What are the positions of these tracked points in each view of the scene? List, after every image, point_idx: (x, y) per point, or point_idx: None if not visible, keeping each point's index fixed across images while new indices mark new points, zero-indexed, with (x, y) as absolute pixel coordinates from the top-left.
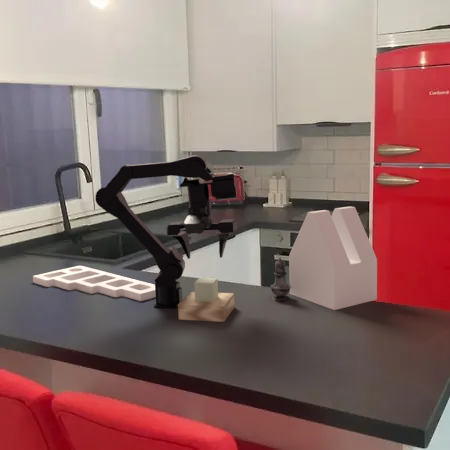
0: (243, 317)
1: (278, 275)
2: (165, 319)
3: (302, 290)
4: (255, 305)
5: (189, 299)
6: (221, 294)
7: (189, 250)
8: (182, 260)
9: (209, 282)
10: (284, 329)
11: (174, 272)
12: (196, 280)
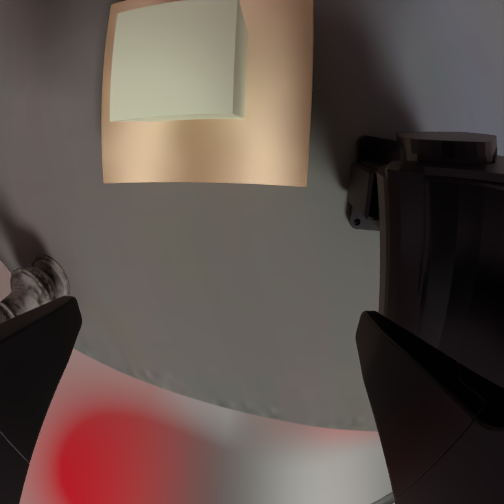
0: (86, 79)
1: (3, 303)
2: (355, 15)
3: (5, 291)
4: (80, 208)
5: (282, 53)
6: (148, 155)
7: (375, 388)
8: (410, 311)
9: (137, 19)
10: (6, 42)
11: (429, 137)
12: (234, 40)
